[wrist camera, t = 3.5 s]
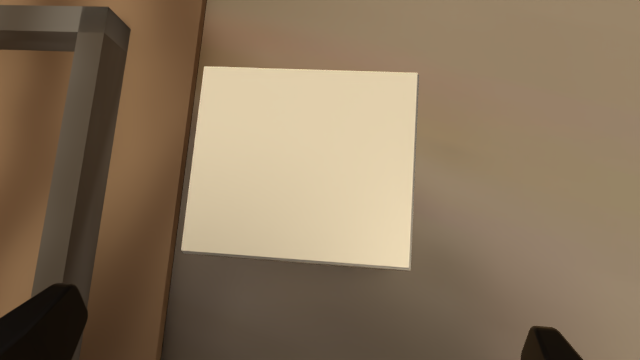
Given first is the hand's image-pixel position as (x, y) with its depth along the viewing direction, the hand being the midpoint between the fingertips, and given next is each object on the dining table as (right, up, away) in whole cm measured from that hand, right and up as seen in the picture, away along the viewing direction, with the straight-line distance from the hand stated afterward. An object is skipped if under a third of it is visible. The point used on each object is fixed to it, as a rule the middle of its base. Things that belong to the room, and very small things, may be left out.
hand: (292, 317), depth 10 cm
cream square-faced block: (+1, +1, +11) cm, 11 cm away
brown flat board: (-14, +2, +13) cm, 19 cm away
